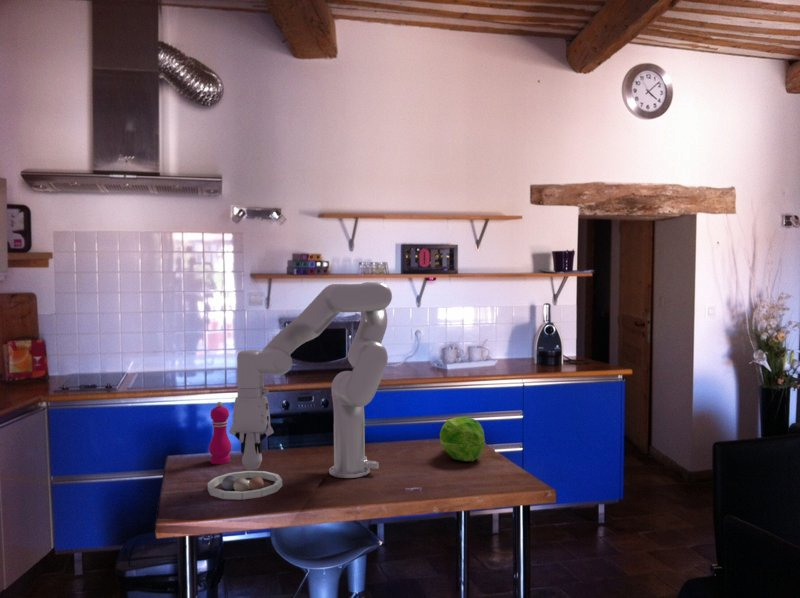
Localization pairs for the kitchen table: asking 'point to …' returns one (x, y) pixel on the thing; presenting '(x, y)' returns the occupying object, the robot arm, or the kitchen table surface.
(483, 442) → the lettuce
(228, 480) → the dusty blue bead
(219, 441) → the pepper mill
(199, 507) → the kitchen table surface
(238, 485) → the bead cream
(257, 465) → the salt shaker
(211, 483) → the tray
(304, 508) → the kitchen table surface
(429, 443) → the kitchen table surface
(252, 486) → the bead terracotta
